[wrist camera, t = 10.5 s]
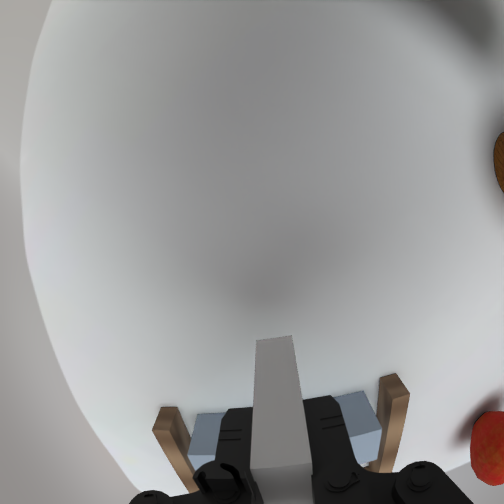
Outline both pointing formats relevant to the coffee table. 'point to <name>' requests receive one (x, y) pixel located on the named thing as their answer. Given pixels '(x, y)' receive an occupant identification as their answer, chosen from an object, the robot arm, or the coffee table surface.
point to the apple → (488, 448)
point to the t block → (354, 413)
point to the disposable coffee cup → (499, 160)
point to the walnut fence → (392, 422)
